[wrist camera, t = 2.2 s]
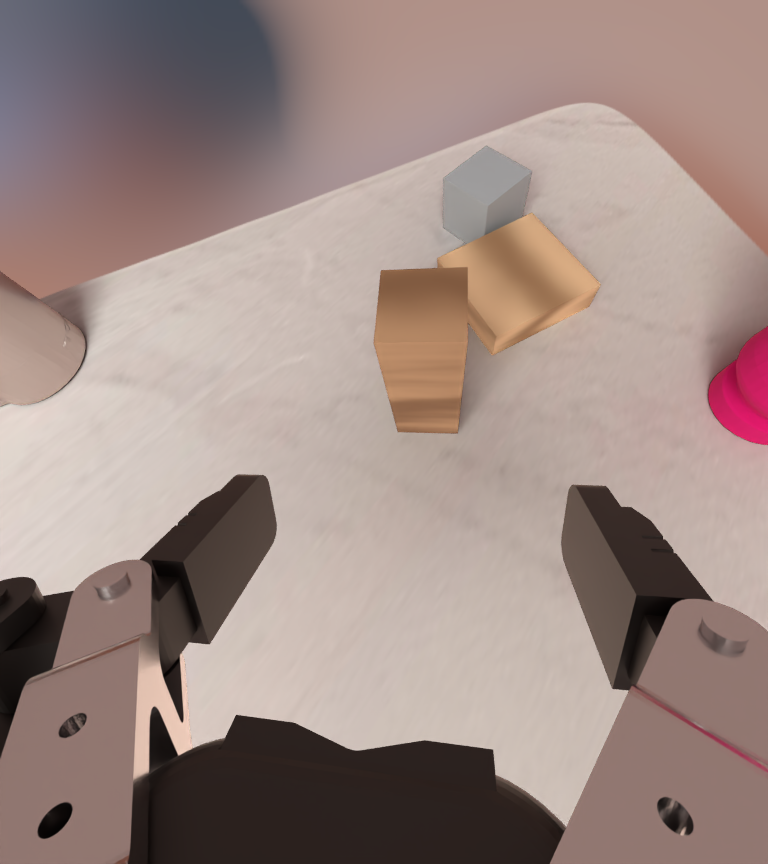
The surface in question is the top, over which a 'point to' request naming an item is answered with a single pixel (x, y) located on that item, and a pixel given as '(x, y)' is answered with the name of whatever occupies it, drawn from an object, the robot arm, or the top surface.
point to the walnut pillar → (423, 345)
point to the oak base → (520, 282)
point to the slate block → (484, 195)
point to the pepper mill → (744, 392)
